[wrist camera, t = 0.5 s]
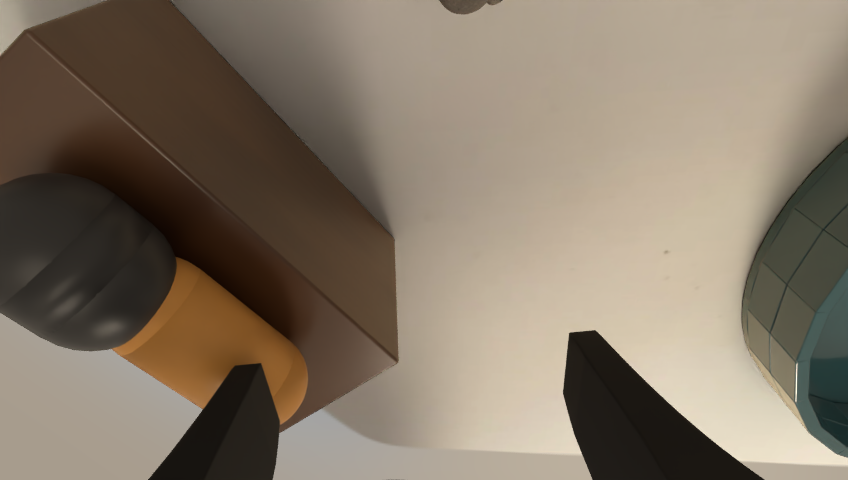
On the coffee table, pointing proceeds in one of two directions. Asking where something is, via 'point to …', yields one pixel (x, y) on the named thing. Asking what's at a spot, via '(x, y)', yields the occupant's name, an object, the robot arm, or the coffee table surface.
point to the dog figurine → (466, 5)
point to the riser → (206, 178)
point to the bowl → (806, 303)
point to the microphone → (129, 292)
